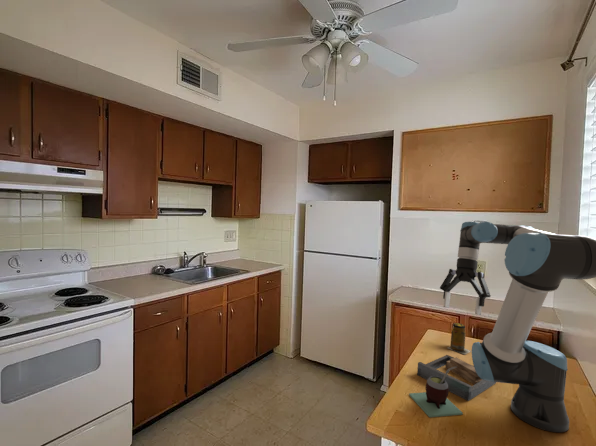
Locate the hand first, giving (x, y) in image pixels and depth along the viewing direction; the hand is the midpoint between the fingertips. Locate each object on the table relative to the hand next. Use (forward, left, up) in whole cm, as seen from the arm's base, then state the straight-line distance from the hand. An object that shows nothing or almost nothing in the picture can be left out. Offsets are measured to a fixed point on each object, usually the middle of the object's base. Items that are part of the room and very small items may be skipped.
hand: (461, 311), depth 128 cm
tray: (-4, +3, -26) cm, 26 cm away
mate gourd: (-19, +22, -25) cm, 38 cm away
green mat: (-18, +22, -26) cm, 39 cm away
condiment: (+20, -17, -26) cm, 37 cm away
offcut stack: (-2, -2, -26) cm, 26 cm away
